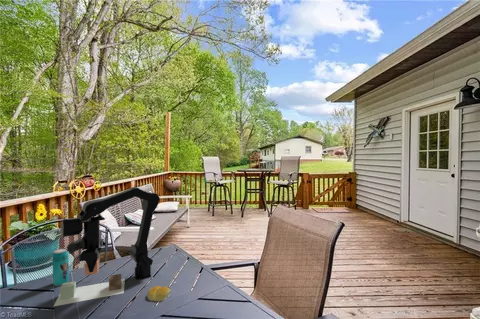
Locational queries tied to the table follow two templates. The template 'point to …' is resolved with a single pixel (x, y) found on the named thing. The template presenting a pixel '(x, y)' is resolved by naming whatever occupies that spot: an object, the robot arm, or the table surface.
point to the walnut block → (115, 282)
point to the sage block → (68, 290)
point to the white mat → (91, 293)
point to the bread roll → (158, 293)
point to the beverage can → (60, 267)
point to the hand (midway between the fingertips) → (92, 269)
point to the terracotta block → (93, 270)
